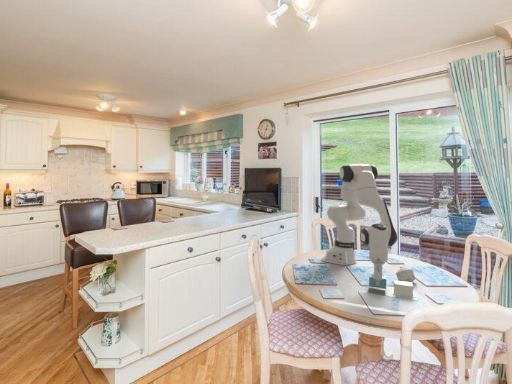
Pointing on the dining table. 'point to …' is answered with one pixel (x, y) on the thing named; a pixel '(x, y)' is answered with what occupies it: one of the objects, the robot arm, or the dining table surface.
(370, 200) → the robot arm
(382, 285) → the teal brick
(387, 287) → the white flat slab
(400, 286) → the cream brick
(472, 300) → the dining table surface
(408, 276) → the grey brown rock
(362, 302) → the dining table surface
